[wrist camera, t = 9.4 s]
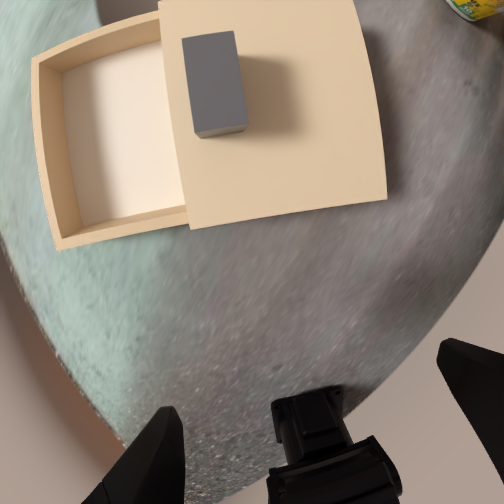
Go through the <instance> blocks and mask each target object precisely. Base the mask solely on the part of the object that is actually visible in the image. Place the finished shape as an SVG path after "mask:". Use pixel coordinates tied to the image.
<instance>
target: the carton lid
mask: <svg viewBox="0 0 504 504" xmlns="http://www.w3.org/2000/svg"><path fill="white" fill-rule="evenodd" d="M158 9H159V21H160V32H161V43H162V52H163V62H164V70H165V79H166V87H167V94H168V102H169V109H170V116H171V123H172V129H173V136H174V142H175V148H176V155H177V161H178V166H179V172H180V178H181V184H182V189H183V194H184V200H185V205H186V210H187V215H188V221H189V226H190V230H193V229H198V228H204V227H209V226H215V225H220V224H226V223H232V222H238V221H244V220H250V219H256V218H262V217H268V216H274V215H280V214H287V213H293V212H300V211H306V210H313V209H320V208H327V207H333V206H340V205H348V204H355V203H362V202H370V201H377V200H385V199H387V185H386V172H385V160H384V150H383V141H382V133H381V126H380V119H379V112H378V106H377V100H376V94H375V88H374V83H373V78H372V73H371V68H370V63H369V59H368V54H367V50H366V46H365V42H364V38H363V34H362V30H361V27H360V23H359V20H358V16H357V13H356V9H355V6H354V3H353V0H163V1H158Z"/></svg>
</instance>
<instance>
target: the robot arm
mask: <svg viewBox="0 0 504 504" xmlns="http://www.w3.org/2000/svg"><path fill="white" fill-rule="evenodd" d="M437 365H438V367H439V369H440V371H441V373H442V375H443V377H444V379H445V381H446V382H447V385H448V387H449V389H450V391H451V393H452V394H453V396H454V398H455V399H456V401H457V403H458V404H459V406H460V408H461V409H462V411H463V412H464V414H465V415H466V417H467V419H468V421H469V422H470V424H471V425H472V427H473V429H474V430H475V432H476V434H477V436H478V437H479V439H480V441H481V442H482V444H483V446H484V448H485V450H486V451H487V453H488V455H489V457H490V459H491V460H492V462H493V464H494V466H495V468H496V469H497V472H498V474H499V475H500V478H501V480H502V482H503V484H504V354H501V353H498V352H494V351H491V350H488V349H485V348H482V347H479V346H476V345H473V344H469V343H466V342H463V341H460V340H457V339H454V338H448V339H446V340H443V341H442V342H441V343H440V347H439V351H438V355H437ZM342 400H343V390H342V388H341V387H340V386H336V387H332V388H329V389H325V390H321V391H317V392H313V393H309V394H305V395H300V396H296V397H291V398H287V399H282V400H277V401H273V402H272V403H271V411H272V417H273V422H274V428H275V434H276V439H277V443H280V444H281V443H283V446H284V450H285V455H286V459H287V463H288V465H286V466H282V467H278V468H276V467H274V468H270V469H269V475H270V476H269V477H268V478H267V479H266V482H267V488H268V495H269V496H268V504H400V502H399V499H398V497H399V496H401V495H402V484H401V479H400V476H399V474H398V471H397V469H396V467H395V465H394V464H393V462H392V461H391V459H390V458H389V457H388V455H387V454H386V452H385V451H384V450H383V448H382V447H381V446H380V444H379V443H378V441H377V440H376V439H375V437H374V436H373V435H372V436H369V437H367V439H365V440H362V441H360V442H357V443H355V444H354V443H353V441H352V439H351V437H350V434H349V432H348V430H347V428H346V426H345V423H344V421H343V419H342V417H341V413H342ZM185 469H186V468H185V453H184V437H183V425H182V422H181V420H180V418H179V416H178V414H177V412H176V409H175V408H174V407H173V406H163V407H160V408H159V409H158V410H157V412H156V413H155V414H154V416H153V417H152V418H151V419H150V421H149V422H148V423H147V424H146V426H145V427H144V428H143V430H142V431H141V432H140V433H139V435H138V436H137V437H136V438H135V440H134V441H133V442H132V443H131V445H130V446H129V447H128V448H127V450H126V451H125V452H124V453H123V455H122V456H121V457H120V459H119V460H118V461H117V462H116V463H115V465H114V466H113V467H112V468H111V469H110V471H109V472H108V473H107V474H106V476H105V477H104V478H103V479H102V482H100V483H99V484H98V485H97V487H96V488H95V489H94V490H93V491H92V492H91V493H90V495H89V496H88V497H87V498H86V499H85V500H84V501H83V502H82V503H81V504H184V491H185Z"/></svg>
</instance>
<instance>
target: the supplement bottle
mask: <svg viewBox="0 0 504 504" xmlns="http://www.w3.org/2000/svg"><path fill="white" fill-rule="evenodd" d="M446 2H447V3H448V4H449V6H450V7H451V8H452V9H453V10H454V11H455V12H457V13H458V14H459V15H460V16H461V17H463V18H465V19H467V20H469V21H476V20H479V19H482V18H485V17H488V16H491V15H493V14H496V13H499V12H502V11H504V0H446Z"/></svg>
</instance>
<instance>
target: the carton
mask: <svg viewBox="0 0 504 504" xmlns="http://www.w3.org/2000/svg"><path fill="white" fill-rule="evenodd" d="M31 98H32V117H33V130H34V140H35V149H36V156H37V163H38V170H39V176H40V182H41V187H42V193H43V198H44V202H45V207H46V212H47V216H48V220H49V224H50V228H51V232H52V236H53V240H54V243H55V247H56V250H57V251H59V250H64V249H68V248H72V247H77V246H81V245H85V244H90V243H94V242H99V241H103V240H108V239H113V238H117V237H122V236H127V235H132V234H137V233H141V232H146V231H151V230H156V229H161V228H167V227H172V226H177V225H182V224H188V223H189V221H188V215H187V210H186V205H185V200H184V194H183V189H182V184H181V178H180V172H179V166H178V161H177V155H176V148H175V142H174V136H173V129H172V123H171V116H170V109H169V102H168V94H167V87H166V79H165V70H164V62H163V52H162V43H161V32H160V21H159V10H158V11H154V12H150V13H146V14H142V15H138V16H135V17H131V18H129V19H125V20H122V21H118V22H115V23H113V24H109V25H107V26H104V27H101V28H98V29H96V30H93V31H90V32H88V33H85V34H83V35H80V36H78V37H75V38H73V39H71V40H69V41H66V42H64V43H62V44H60V45H58V46H55V47H53V48H51V49H49V50H47V51H45V52H43V53H41V54H39V55H38V56H36V57H34V58H32V60H31Z"/></svg>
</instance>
